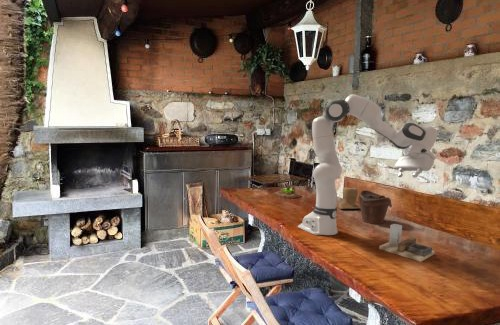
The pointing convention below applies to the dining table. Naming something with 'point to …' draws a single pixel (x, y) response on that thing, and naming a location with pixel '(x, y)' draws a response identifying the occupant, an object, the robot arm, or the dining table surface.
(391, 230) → the grey square block
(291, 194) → the plant
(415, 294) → the dining table surface
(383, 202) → the brown tapered bucket
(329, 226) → the robot arm
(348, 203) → the tan boot
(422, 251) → the beige board with divider
